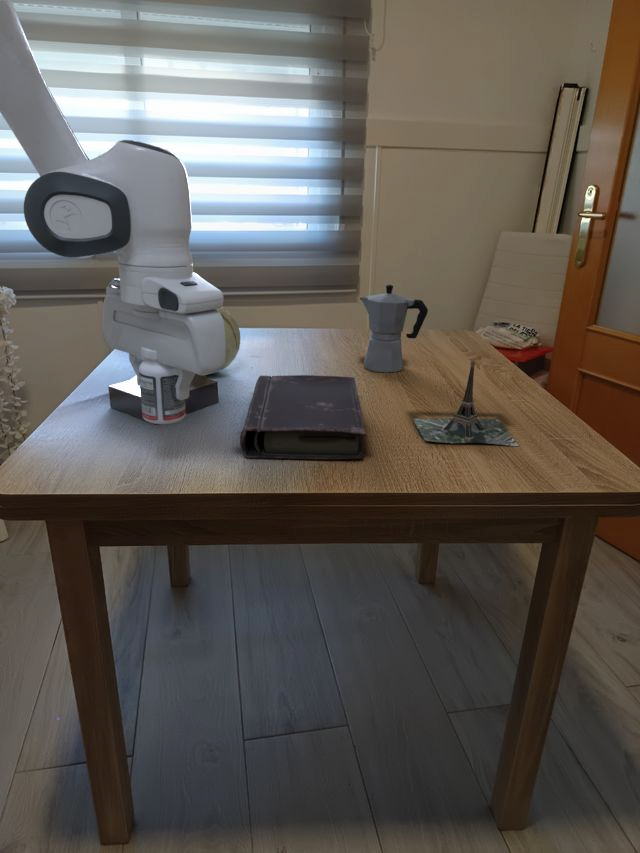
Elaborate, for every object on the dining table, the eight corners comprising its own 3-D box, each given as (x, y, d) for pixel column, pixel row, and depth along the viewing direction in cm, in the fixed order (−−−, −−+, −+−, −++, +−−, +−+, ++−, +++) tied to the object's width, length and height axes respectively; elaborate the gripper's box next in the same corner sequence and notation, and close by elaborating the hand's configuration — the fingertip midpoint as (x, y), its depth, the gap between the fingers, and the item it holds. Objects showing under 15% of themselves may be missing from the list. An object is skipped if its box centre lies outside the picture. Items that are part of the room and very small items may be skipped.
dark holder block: (155, 425, 92) (154, 401, 91) (104, 405, 100) (102, 383, 98) (225, 400, 104) (224, 379, 103) (174, 384, 112) (173, 364, 110)
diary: (239, 459, 82) (239, 426, 80) (255, 399, 105) (255, 373, 103) (369, 462, 82) (372, 430, 80) (357, 402, 105) (358, 376, 104)
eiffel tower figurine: (498, 421, 99) (510, 346, 94) (519, 446, 90) (534, 363, 84) (412, 420, 98) (419, 344, 93) (424, 445, 89) (434, 361, 84)
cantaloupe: (235, 361, 128) (234, 293, 122) (246, 381, 115) (244, 306, 109) (167, 364, 124) (162, 294, 118) (170, 385, 111) (164, 307, 105)
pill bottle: (186, 410, 81) (184, 341, 77) (184, 425, 76) (182, 352, 72) (144, 410, 80) (140, 340, 76) (139, 425, 75) (134, 351, 71)
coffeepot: (347, 367, 126) (351, 284, 119) (364, 357, 134) (370, 279, 127) (413, 379, 120) (422, 292, 113) (428, 368, 127) (437, 286, 120)
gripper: (85, 278, 75) (95, 380, 80) (193, 301, 64) (197, 417, 69) (126, 275, 79) (133, 371, 85) (233, 295, 69) (234, 404, 74)
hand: (163, 392), depth 77 cm, fingers closed on pill bottle, 5 cm apart
